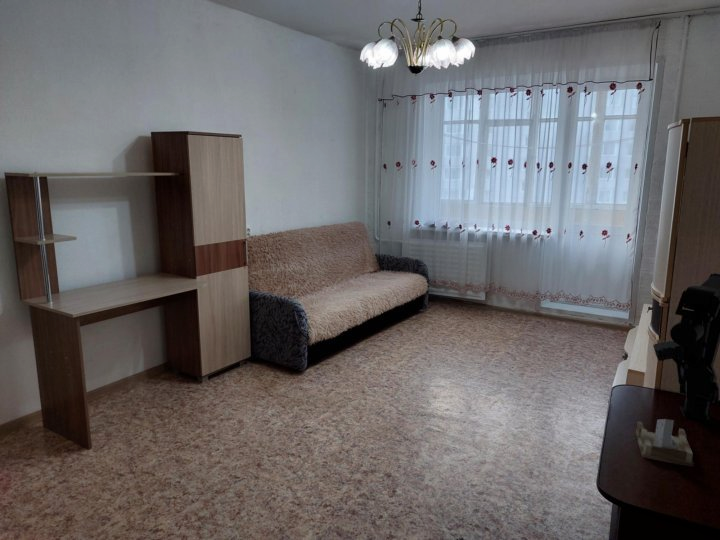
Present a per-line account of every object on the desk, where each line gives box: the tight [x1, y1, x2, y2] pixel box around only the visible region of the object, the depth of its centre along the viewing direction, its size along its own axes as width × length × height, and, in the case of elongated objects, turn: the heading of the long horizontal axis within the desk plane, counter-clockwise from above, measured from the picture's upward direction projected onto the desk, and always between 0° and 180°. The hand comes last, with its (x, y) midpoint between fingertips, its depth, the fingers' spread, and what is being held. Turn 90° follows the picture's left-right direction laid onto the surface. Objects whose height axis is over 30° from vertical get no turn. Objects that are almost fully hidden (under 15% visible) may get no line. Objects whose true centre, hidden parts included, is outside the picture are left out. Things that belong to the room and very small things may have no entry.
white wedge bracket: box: [654, 418, 678, 450], centre depth 127 cm, size 4×10×9 cm, turn 164°
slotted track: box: [635, 421, 695, 468], centre depth 130 cm, size 12×11×4 cm
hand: (684, 391), depth 134 cm, fingers open, 9 cm apart
